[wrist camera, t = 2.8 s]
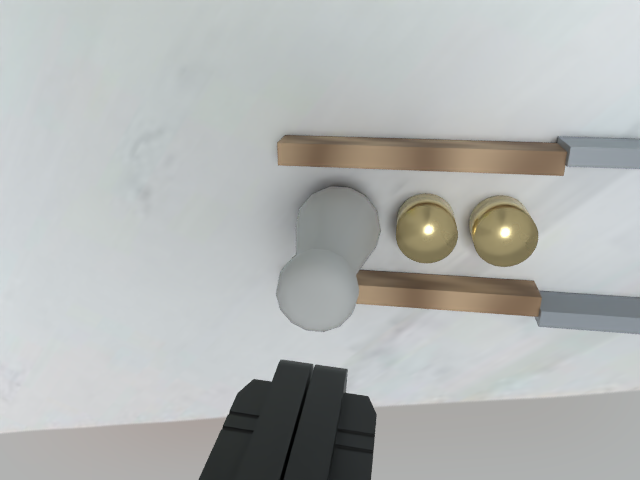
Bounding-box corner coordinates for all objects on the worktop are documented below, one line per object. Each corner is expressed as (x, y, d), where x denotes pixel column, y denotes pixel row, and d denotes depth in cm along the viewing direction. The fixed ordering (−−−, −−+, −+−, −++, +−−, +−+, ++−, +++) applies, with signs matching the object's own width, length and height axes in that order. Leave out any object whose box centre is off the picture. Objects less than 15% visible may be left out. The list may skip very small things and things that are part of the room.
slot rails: (289, 282, 42) (282, 298, 39) (285, 135, 37) (277, 142, 35) (530, 299, 39) (538, 316, 37) (557, 142, 35) (567, 151, 32)
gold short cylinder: (385, 221, 39) (383, 236, 36) (424, 181, 37) (426, 194, 34) (425, 256, 39) (427, 274, 37) (466, 218, 38) (470, 234, 35)
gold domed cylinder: (456, 223, 38) (460, 239, 35) (499, 183, 36) (507, 197, 34) (497, 259, 39) (503, 277, 36) (541, 221, 37) (551, 237, 34)
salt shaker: (346, 266, 40) (320, 370, 29) (287, 219, 40) (235, 305, 28) (398, 212, 38) (394, 300, 26) (337, 160, 37) (304, 227, 26)
